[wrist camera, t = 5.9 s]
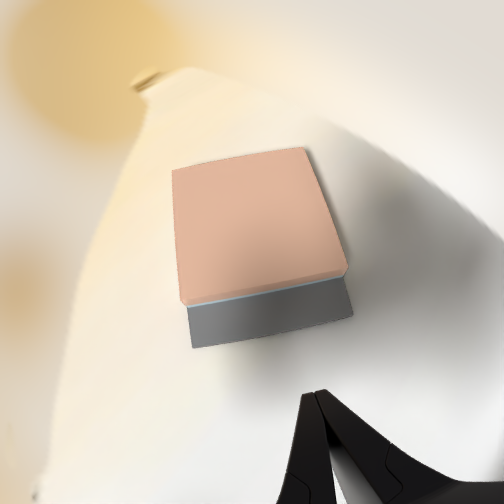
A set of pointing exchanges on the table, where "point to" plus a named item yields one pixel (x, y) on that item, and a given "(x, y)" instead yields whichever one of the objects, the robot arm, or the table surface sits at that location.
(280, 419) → the table surface
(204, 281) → the tile
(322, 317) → the mat
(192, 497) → the table surface
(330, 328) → the table surface
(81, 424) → the table surface
